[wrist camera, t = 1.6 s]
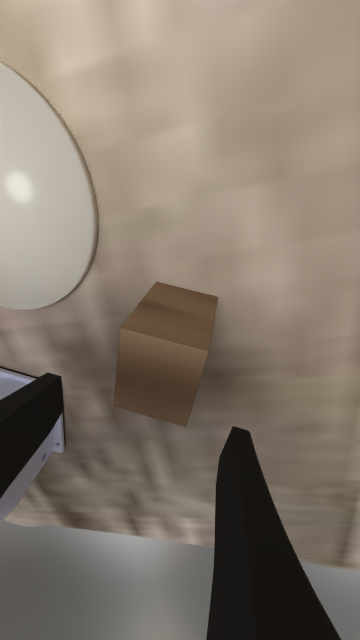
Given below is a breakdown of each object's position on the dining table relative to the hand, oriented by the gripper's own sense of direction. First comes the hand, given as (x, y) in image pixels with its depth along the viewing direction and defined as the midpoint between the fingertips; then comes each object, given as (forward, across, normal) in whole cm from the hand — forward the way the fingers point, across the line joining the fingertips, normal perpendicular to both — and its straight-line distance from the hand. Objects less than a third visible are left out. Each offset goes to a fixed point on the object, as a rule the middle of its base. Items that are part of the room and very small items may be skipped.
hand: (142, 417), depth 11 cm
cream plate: (+8, +13, -5) cm, 16 cm away
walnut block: (+8, 0, 0) cm, 8 cm away
